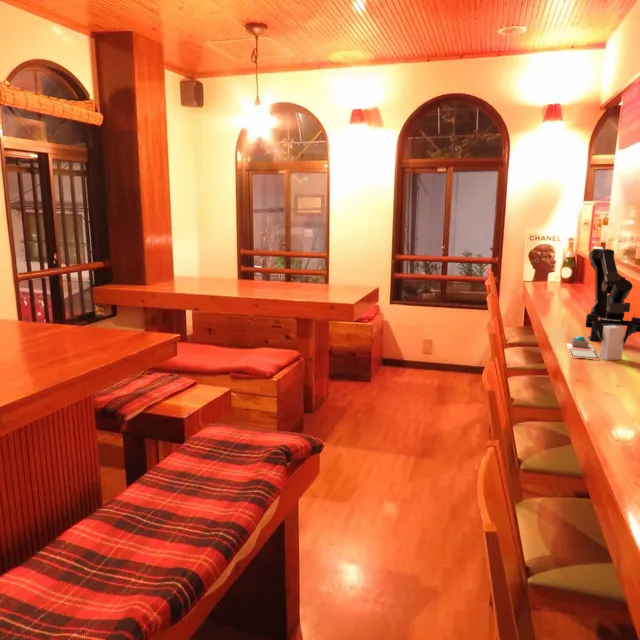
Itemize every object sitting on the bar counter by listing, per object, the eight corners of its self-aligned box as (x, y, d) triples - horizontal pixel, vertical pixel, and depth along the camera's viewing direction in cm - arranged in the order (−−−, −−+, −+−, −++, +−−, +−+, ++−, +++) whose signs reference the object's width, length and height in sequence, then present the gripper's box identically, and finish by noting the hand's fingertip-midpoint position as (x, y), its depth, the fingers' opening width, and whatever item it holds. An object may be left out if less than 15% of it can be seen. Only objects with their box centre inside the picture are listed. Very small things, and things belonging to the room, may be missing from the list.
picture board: (565, 345, 218) (566, 337, 218) (590, 347, 216) (591, 339, 215) (571, 358, 200) (572, 349, 199) (598, 360, 197) (599, 351, 196)
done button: (575, 341, 216) (575, 335, 215) (583, 342, 215) (583, 336, 214) (575, 343, 213) (576, 337, 212) (584, 344, 212) (585, 338, 211)
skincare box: (614, 356, 202) (618, 324, 199) (622, 360, 197) (626, 327, 195) (598, 357, 201) (602, 325, 199) (606, 360, 197) (610, 327, 194)
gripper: (589, 292, 202) (585, 327, 195) (647, 296, 194) (645, 332, 186) (587, 309, 211) (583, 343, 203) (642, 313, 202) (641, 349, 195)
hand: (612, 341), depth 197 cm, fingers closed on skincare box, 7 cm apart
